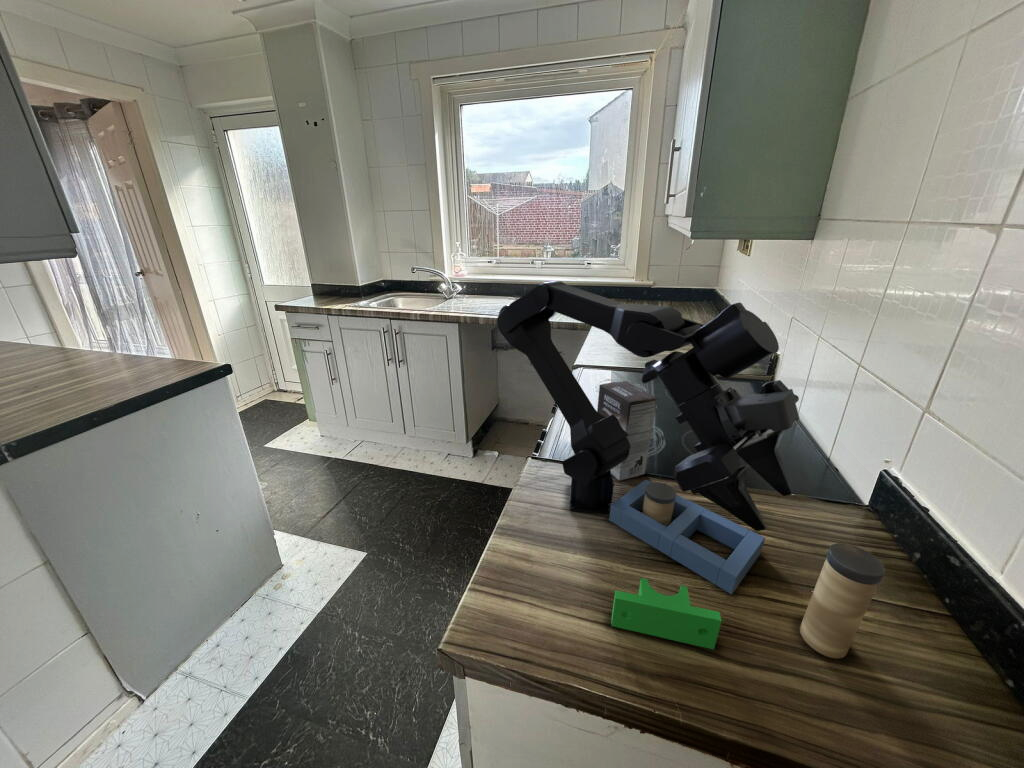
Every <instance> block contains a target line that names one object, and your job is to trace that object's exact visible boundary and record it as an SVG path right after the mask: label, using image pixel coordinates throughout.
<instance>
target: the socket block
mask: <svg viewBox="0 0 1024 768" xmlns="http://www.w3.org/2000/svg"><path fill="white" fill-rule="evenodd" d="M649 483H653V482H652V481H650V480H648V479H644V480H643V481H642V482H640V483H639V484H638V485H636V486H635V487H633V488H632V489H631V490H630V491H628V492H627V493H625V494H623V496H621V497H620V498H618V499H617V500H616V501H614V502H613V503H611V504H610V508H609V517H608V520H609V522H611V523H613V524H614V525H616V526H618V527H619V528H621V529H623V530H625V532H628V533H629V534H631V535H633V536H634V537H636V538H637V539H639V540H641V541H642V542H644V543H645V544H648V545H649V546H651V547H652V548H654V549H655V550H658V551H659V552H661V553H663V554H664V555H665V556H667V557H669V558H670V559H672V560H674V561H676V563H678V564H680V565H682V566H684V567H685V568H687V569H689V570H690V571H692V572H693V573H695V574H697V575H699V576H700V577H702V578H703V579H705V580H707V581H709V582H710V583H712V584H713V585H716V586H717V587H718V588H720V589H721V590H723V591H725V592H726V593H728V594H730V595H733V593H734V592H735V591H736V590H737V588H738V587H739V585H740V584H741V582H742V581H743V579H744V578H745V577H746V575H747V574H748V572H749V571H750V569H751V568H752V567H753V565H754V564H755V562H756V561H757V559H758V558H759V557H760V555H761V553H762V550H763V547H764V543H765V541H766V537H765V536H763V535H761V534H759V533H757V532H755V531H753V530H751V529H749V528H746V527H744V526H742V525H740V524H739V523H737V522H734V521H733V520H730V519H728V518H726V517H724V516H722V515H720V514H718V513H716V512H713V511H712V510H710V509H707V508H705V507H704V506H701V505H699V504H697V503H696V502H693V501H692V500H691V501H690V500H689V499H687V498H685V497H683V496H681V495H679V494H677V493H676V499H675V503H674V508H673V513H672V518H674V519H673V521H671V524H670V525H669V526H668V527H666V526H664V525H663V524H661V523H659V522H657V521H655V520H654V519H652V518H650V517H648V516H646V515H645V514H643V513H642V510H643V503H644V497H645V488H646V486H647V485H648V484H649ZM696 531H698V532H700V533H702V534H704V535H706V536H708V537H710V538H712V539H714V540H716V541H717V542H719V543H720V544H723V545H725V546H727V547H728V548H731V550H733V551H732V553H731V554H730V555H729V557H728V558H727V559H726V558H723V557H722V556H720V555H719V554H716V553H715V552H713V551H711V550H709V549H707V548H705V547H704V546H702V545H700V544H699V543H696V542H695V541H693V540H692V539H690V537H691V536H692V535H693V534H694V533H695V532H696Z"/></svg>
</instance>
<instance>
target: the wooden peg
mask: <svg viewBox="0 0 1024 768" xmlns="http://www.w3.org/2000/svg"><path fill="white" fill-rule="evenodd" d="M825 556H826V557H825V560H824V563H823V565H822V568H821V571H820V573H819V576H818V579H817V581H816V584H815V587H814V589H813V592H812V594H811V596H810V600H809V603H808V605H807V608H806V610H805V612H804V616H803V618H802V622H801V623H800V626H799V633H800V636H801V637H802V639H803V640H804V642H805V643H806V644H807V645H808V646H809V647H810V648H811V649H813V650H814V651H816V652H817V653H818V654H821V655H823V656H825V657H828V658H830V659H843V658H845V657H846V656H847V654H848V652H849V649H850V648H851V645H852V643H853V641H854V639H855V637H856V634H857V632H858V630H859V628H860V625H861V623H862V621H863V619H864V617H865V614H866V612H867V610H868V608H869V606H870V604H871V602H872V600H873V597H874V595H875V593H876V590H877V588H878V586H879V585H880V584H879V583H880V582H881V581H882V580H883V577H884V575H885V572H886V569H885V566H884V564H883V563H882V562H881V561H880V559H878V558H877V557H876V556H875V555H874V554H872V553H871V552H869V551H867V550H866V549H864V548H861V547H858V546H856V545H853V544H850V543H846V542H836V543H833V544H831V545H829V548H828V550H827V553H826V555H825Z"/></svg>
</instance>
